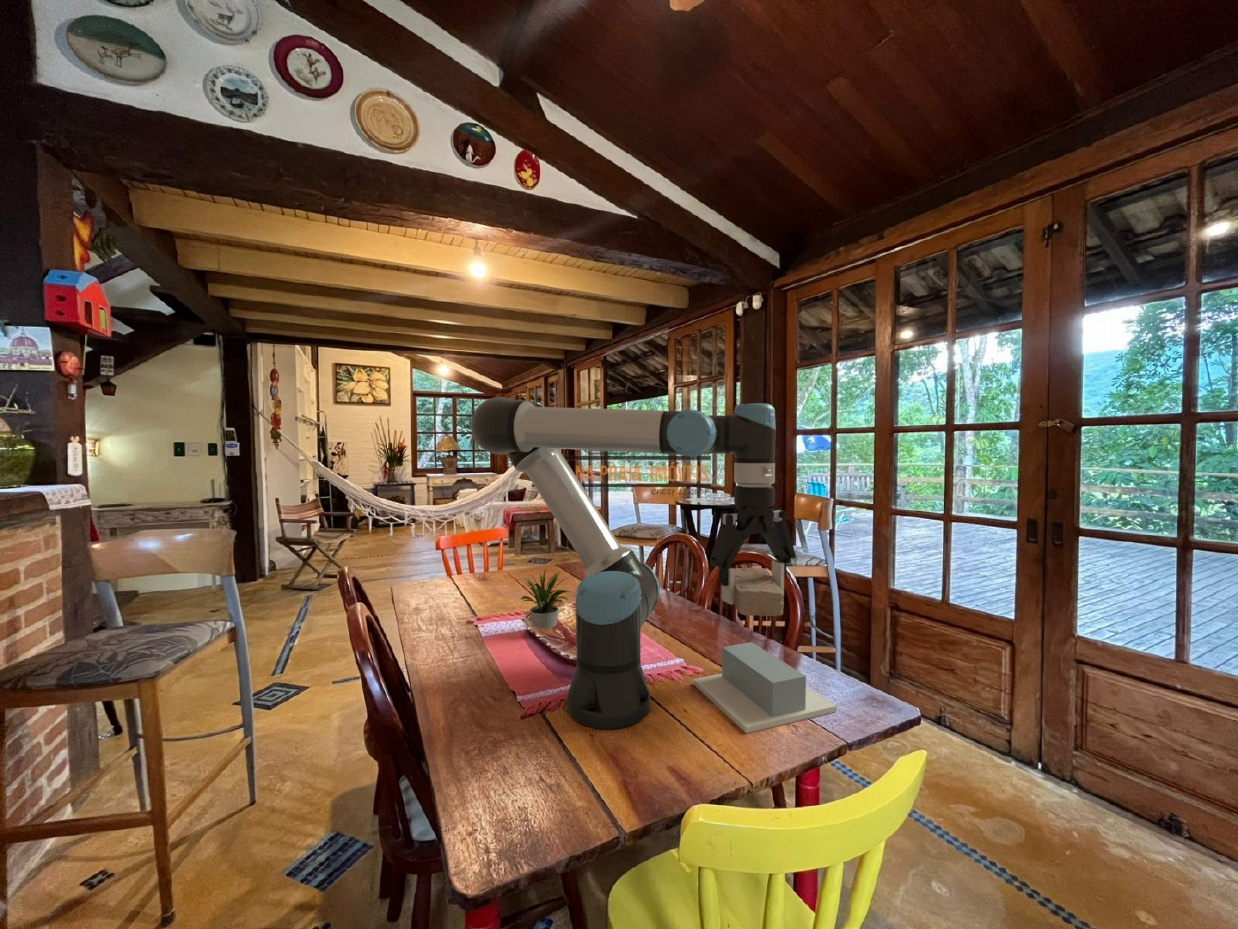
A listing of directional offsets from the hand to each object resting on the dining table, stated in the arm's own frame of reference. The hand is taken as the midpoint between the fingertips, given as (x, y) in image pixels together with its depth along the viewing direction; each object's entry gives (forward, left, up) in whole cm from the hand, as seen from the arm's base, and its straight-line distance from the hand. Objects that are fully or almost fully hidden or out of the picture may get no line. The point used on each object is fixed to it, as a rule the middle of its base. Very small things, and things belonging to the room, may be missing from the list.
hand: (753, 598), depth 96 cm
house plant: (-33, +42, -18) cm, 57 cm away
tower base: (0, -3, -18) cm, 18 cm away
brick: (0, 0, -1) cm, 1 cm away
